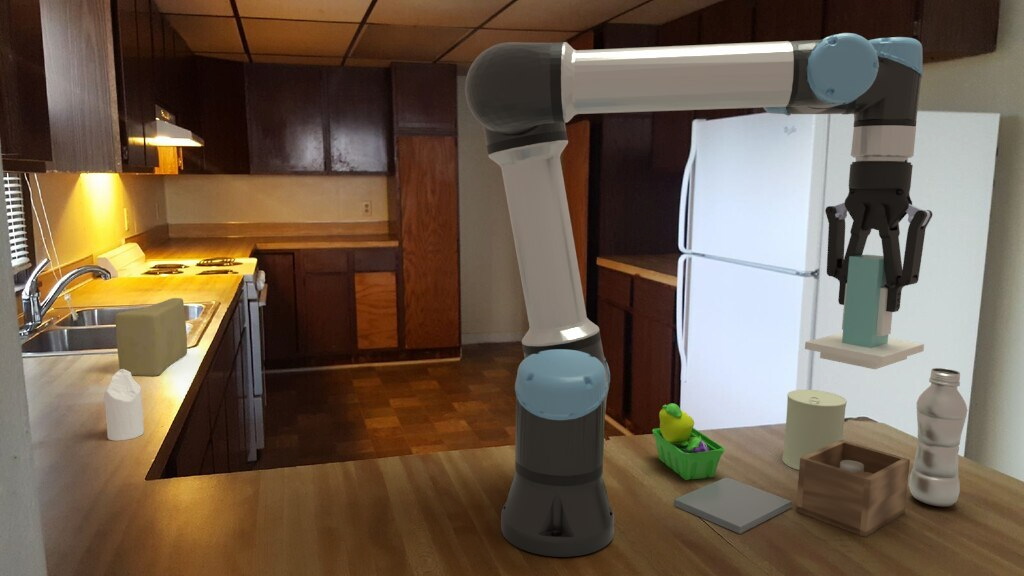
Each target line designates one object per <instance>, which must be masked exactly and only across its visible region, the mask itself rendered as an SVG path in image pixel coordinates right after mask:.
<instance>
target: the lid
mask: <svg viewBox="0 0 1024 576" xmlns="http://www.w3.org/2000/svg"><path fill="white" fill-rule="evenodd" d="M886 284H887V283H886V275H885V266H884V257H883V255H874V254H862V255H858V256H850V257H849V267H848V279H847V290H846V302H845V313H844V325H843V330H842V332H840V333H837V334H832V335H827V336H825V337H820V338H819V337H818V338H815V339H812V340H807V341H805V343H804V349H805V350H808V351H813V352H816V353H817V352H818V353H819V359H822V360H828V361H832V362H838V363H841V364H842V363H843V364H846V365H851V366H856V367H862V368H865V369H866V368H867V369H871V370H878V369H881V368H883V367H886V366H889V365H893V364H896V363H898V362H902V361H905V360H907V359H908V357H909V356H913V355H916V354H918V353H922V352H924V349H925V344H924V343H920V342H914V341H909V340H903V339H897V338H893V337H892V338H891V337H889V334H888V335H885V336H876V329H877V319H878V308H879V297H880V288H883V287H885V286H884V285H886Z"/></svg>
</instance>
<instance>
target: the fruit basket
mask: <svg viewBox="0 0 1024 576" xmlns="http://www.w3.org/2000/svg"><path fill="white" fill-rule="evenodd" d="M658 417H659V428H658V427H657V428H653V429H652V431H651V432H652V435H653V437H654V440H655V444H656V449H657V454H658V457H659V458H658V459H659V461H661V462H662V463H664V464H665V466H667V467H668V468H669V469H672V470H673V472H674V473H676V474H677V475H679V476H680V477H681V478H682V479H684V481H689V480H698V479H706V478H713V477H714V476H715V473H716V472H717V471H716V470H717V468H718V465H719V461H720V460H721V458H722V457H721V456H722V455H723V454H724V452H725V447H723V446H722V445H721V444H719V443H718V442H717V441H714V440H713V439H711V438H710V437H708V436H707V435H706V434H703V433H702V432H701V431H699V430H697V429H696V428H695V427H694V426H695V421H694V418H693V417H691V416H690V415H689V414H688V413H687V412H685V411H683V410H682V409H681V407H679V405H678V404H676V403H669V404H664V405H662V409H660V411H659V415H658Z"/></svg>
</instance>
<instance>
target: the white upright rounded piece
mask: <svg viewBox="0 0 1024 576" xmlns="http://www.w3.org/2000/svg"><path fill="white" fill-rule="evenodd" d="M142 394H143V393H142V388H141V386H140V384H139V383H138V382H136V381H135V379H134V378H133V376H131V372H129V371H127V370H125V369H120V368H119V370H117V371H116V372H114V375H113V376H111V379H110V382H109V383H108V386H107V387H106V388H105V391H104V393H103V399H104V400H103V401H104V409H105V419H106V432H107V433H106V434H107V439H108V440H109V441H115V442H116V441H117V442H118V441H119V442H121V441H128V440H133V439H136V438H139V437H140V436H142V435H143V434H144V432H145V431H144V430H145V429H144V426H145V425H144V411H143V410H144V409H143V396H142Z"/></svg>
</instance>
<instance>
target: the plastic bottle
mask: <svg viewBox="0 0 1024 576" xmlns="http://www.w3.org/2000/svg"><path fill="white" fill-rule="evenodd" d="M960 379H961V372H960V371H957V370H955V369H950V368H943V367H935V368H931V370H930V377H929V378H928V380H929V381H928V382H929V383H931V384H930V385H929V386H928V387H927V388H926V389H925V390H924V391H923V392H922V393H921V394H920V395H919V397H918V399H917V401H916V419H917V422H916V423H917V440H916V441H917V442H916V443H917V444H916V446H917V447H916V451H915V456H914V461H913V466H912V469H911V471H910V475H909V477H908V487H909V491H910V494H911V495H912V496H913V498H914V499H915V500H918V502H921V503H924V504H927V505H930V506H934V507H942V508H943V507H944V508H945V507H951V506H953V505H954V504H955V503H957V501H958V498H959V495H960V493H961V490H960V478H959V477H960V476H959V450H960V447H959V446H960V444H961V438H962V433H963V430H964V426H965V422H966V418H967V415H968V407H967V406H968V405H967V403H966V401H965V399H964V397H963V395H962V394H961V393H960V391H959V390H958V387H960V386H961V385H960V384H961V382H960Z"/></svg>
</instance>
